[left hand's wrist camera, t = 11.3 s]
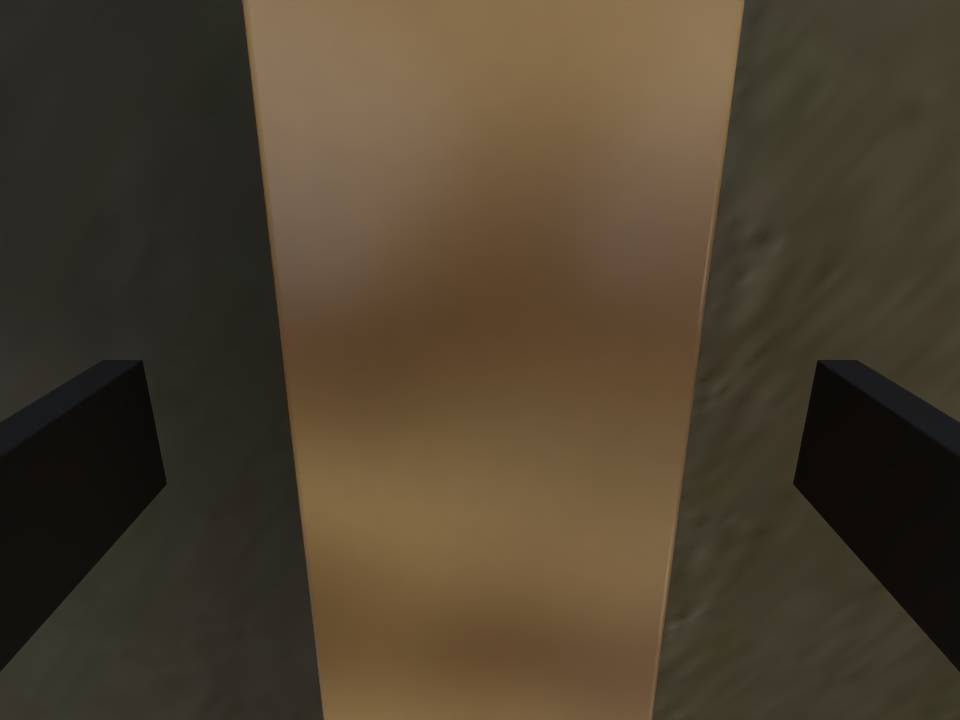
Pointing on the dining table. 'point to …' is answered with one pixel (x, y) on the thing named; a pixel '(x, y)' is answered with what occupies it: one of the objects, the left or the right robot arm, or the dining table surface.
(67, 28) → the dining table surface
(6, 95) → the dining table surface
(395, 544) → the bar
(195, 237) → the dining table surface
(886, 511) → the left robot arm
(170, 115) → the dining table surface
